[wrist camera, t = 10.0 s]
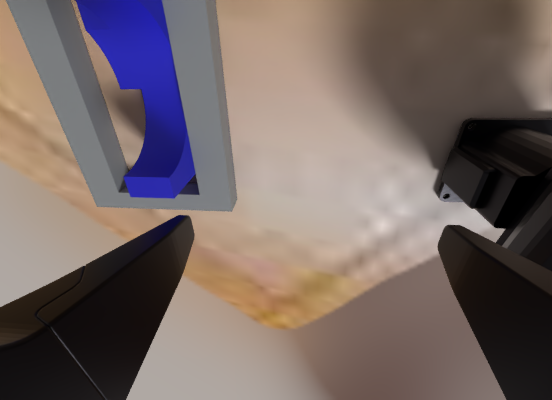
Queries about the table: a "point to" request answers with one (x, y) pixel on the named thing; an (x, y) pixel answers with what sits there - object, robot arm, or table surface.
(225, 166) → the gray rectangular open frame
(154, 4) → the blue curved bracket
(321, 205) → the table surface
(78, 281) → the robot arm
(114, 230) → the table surface
